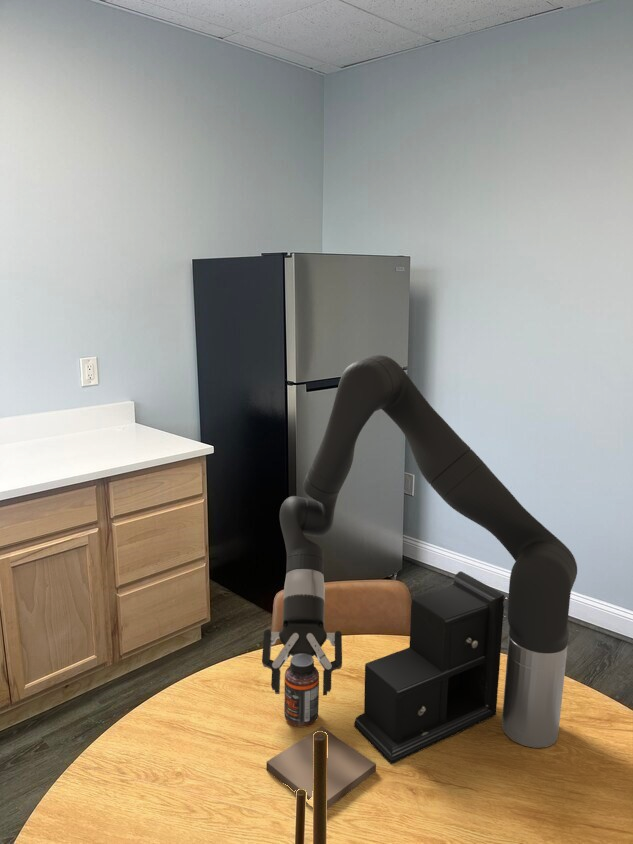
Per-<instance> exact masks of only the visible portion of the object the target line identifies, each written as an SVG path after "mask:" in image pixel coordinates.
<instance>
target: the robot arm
mask: <svg viewBox="0 0 633 844" xmlns="http://www.w3.org/2000/svg"><path fill="white" fill-rule="evenodd" d="M379 410H381V411H383V412H384V413H385V414H386V415H387V416H388V417H389V418H390V419H391V420H392V421H393V422H394V423H395V425H397V427H398V428H399V429H400V431H401V432H402V433H403V435H404V437H405V438H406V440H407V442H408V444H409V447H410V449H411V453H412V455H413V457H414V460H415V463H416V465H417V467H418V469H419V471H420V473H421V475H422V476H423V477H424V480H426V482H427V484H428V485H430V486H431V488H432V489H433V490H434V491H435V492H436V493H437V494H438V495H439V497H440V498H441V499H442V501H444V502H445V503H446V504H448V506H449V507H450V508H452V509H453V510H454V511H456V512H457V513H459V514H460V515H462V516H464V517H465V518H466V519H468V520H470V521H472V522H473V523H475V524H477V525H479V526H480V527H482V528H483V529H485V530H486V531H488V533H491V534H492V536H494V537H495V539H496V540H498V541H499V543H500V544H501V545H502V546H503V547H504V548H505V549H506V550H507V552H508V553H509V555H510V556H511V557H512V558H513V560H514V563H513V565H512V568H511V571H510V575H509V586H508V599H507V600H508V601H507V602H508V603H507V621H508V627H509V629H508V639H507V640H508V641H507V651H506V652H507V653H506V654H507V655H506V668H505V678H504V679H505V680H504V687H503V688H504V689H503V690H504V691H503V702H502V715H501V728H502V730H503V732H504V733H505V735H506V736H507V737H508V738H509V739H510V740H512V741H513V742H515V743H517V744H519V745H522V746H524V747H529V748H534V749H541V748H547V747H551V746H552V745H554V744H555V743H557V741H558V739H559V730H560V722H561V714H562V713H561V712H562V702H563V693H564V684H565V676H566V675H565V674H566V665H567V653H568V644H569V634H570V629H569V625H568V624H569V623H568V621H569V613H570V601H571V593H572V589H573V587H574V585H575V582H576V579H577V575H578V565H577V560H576V558H575V556H574V554H573V553H572V551H571V550H570V549H569V548H568V547H567V546H566V545H565V544H564V543H563V541H561V540H560V539H559V538H558V537H557V536H556V535H555V534H553V533H552V532H551V531H550V530H549V529H548V528H547V527H545V526H544V525H543V524H542V523H541V522H540V521H539V520H538V519H536V518H535V517H534V516H533V515H532V514H531V513H530V512H529V511H528V510H527V509H526V508H525V507H524V506H523V505H522V504H521V503H520V502H519V500H517V498H516V497H515V496H514V495H513V494H512V492H511V491H510V490H509V489H508V488H507V487H506V486H505V484H504V483H503V482H502V481H501V480H500V479H499V478H498V477H497V476H496V475H495V474H494V473H493V472H492V470H491V469H490V467H488V466H487V464H486V463H485V462H484V461H483V460H482V459H481V458H480V456H479V455H477V453H476V452H475V451H474V449H472V448H471V447H470V446H469V444H467V443H466V442H465V441H464V440H463V439H462V438H461V437H460V436H459V435H458V433H457V432H456V431H454V429H453V428H452V427H451V426H450V425H449V424H448V423H447V421H445V419H444V418H443V417H442V416H441V415H440V414H439V413H438V412H437V411H436V410H435V409H434V408H433V407H432V405H431V404H430V403H429V402H428V400H427V399H426V398H425V397H424V396H423V394H422V393H421V391H420V390H419V389H418V387H417V385H415V383H414V382H413V381H412V379H411V378H410V377H409V376H408V374H407V373H406V371H405V370H404V369H403V368H402V366H401V365H400V364H399V363H398V362H397V361H396V360H394V359H393V358H391V357H389V356H387V355H384V354H375V355H371V356H367V357H365V358H363V359H359V360H357V361H354V362H352V363H351V364H350V365H348V366H346V368H345V369H344V371H343V372H342V374H341V377H340V379H339V383H338V387H337V389H336V393H335V397H334V400H333V406H332V409H331V413H330V414H329V418H328V419H329V420H328V423H327V425H326V429H325V431H324V435H323V438H322V440H321V443H320V444H319V448H318V450H317V452H316V454H315V456H314V458H313V461H312V462H311V465H310V466H309V469H308V470H307V473H306V475H305V477H304V480H303V484H302V487H303V490H304V492H305V494H306V495H307V496H309V497H310V498H307V497H301V496H297V495H291V496H289V497H286V499H284V501H283V502H282V504H281V506H280V508H279V509H280V510H279V523H280V529H281V532H282V537H283V540H284V541H283V542H284V544H285V551H286V552H285V553H286V567H285V568H286V572H285V573H286V574H285V578H284V579H285V581H284V586H283V601H282V602H283V603H282V605H283V609H282V625H281V629H280V631H271V630H270V629H265V630H264V632H263V642H262V643H263V644H262V653H261V654H262V656H261V663H262V666H263V667H264V668H268V669H270V670H271V680H270V681H271V684H270V686H271V689H272V691H274V694H275V695H280V691H281V668H282V667H283V665H284V664H285V663H286V662H287V661H288V659H289V658H290V657H293V656H294V655H296V654H302V653H303V654H308V655H310V656H312V657H315V658H316V660H317V661H318V662H319V663H320V665H321V667H322V668H323V672H322V675H323V676H322V696H328V693H330V692H331V690H332V673H333V672H334V671H335V670H340V669H342V667H343V642H342V641H343V638H342V632H341V631H339V630H337V631H335V632H327V631H326V630H325V629H326V628H325V599H326V592H325V590H326V589H325V588H326V587H325V586H326V585H325V581H324V580H325V579H324V570H325V569H324V568H325V567H324V564H325V563H324V560H325V559H324V558H325V552H324V550H323V547H322V546H321V545H320V544H318V543H315V542H314V541H312V540H310V539H308V538H307V537H306V536H310V537H315V538H321V537H324V536H325V535H327V534H328V533H329V532H330V531H331V530H332V527H333V524H334V519H335V517H334V516H335V510H336V504H337V499H338V496H339V494H340V491H341V489H342V488H343V485H344V484H345V481H346V479H347V477H348V475H349V473H350V470H351V468H352V465H353V461H354V455H355V448H356V447H355V446H356V443H357V442H358V441H357V440H358V438H359V436H360V434H361V432H362V430H363V428H364V427H365V425H366V424H367V422H368V421H369V420H370V418H371V417H372V416H373V414H375V412H377V411H379ZM278 639H279V641H280V642H281V644H282V645H283V647H282V648H281V650H280V651H279V653H278V655H277V656H276V658H275V659H274V660H272V659H271V652H272V646H273V645H275V644H276V641H277V640H278ZM327 640H328V641H329V643H330V645H331V646H332V647H334V660H332V661H330V660H329V658H328V657H327V655H326V653H325V651H324V650H323V648H322V646H323V645H324V644H325V643H326V641H327Z"/></svg>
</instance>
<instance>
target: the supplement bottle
mask: <svg viewBox="0 0 633 844" xmlns="http://www.w3.org/2000/svg"><path fill="white" fill-rule="evenodd" d="M289 663H290V664H289V666H288V667H287V668H286V670H285V671H284V672H285V673H284V706H283V707H284V709H283V710H284V711H283V712H284V718H285V720H286V722H287V723H288V724H290V726H293V727H297V728H304V727H309V726H311V725H313V724H315V723H316V721H318V718H319V703H320V702H319V700H320V699H319V698H320V696H319V695H320V694H319V693H320V692H319V691H320V672H319V671H318V669H317V668H316V666H315V664H314V663H315V660H314V656H310V655H308V654H303V653H302V654H296V655H294V656H291V657H290V662H289Z"/></svg>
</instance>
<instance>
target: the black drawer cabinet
mask: <svg viewBox="0 0 633 844" xmlns="http://www.w3.org/2000/svg"><path fill="white" fill-rule="evenodd" d="M504 601H505V594H504V593H502V592H500V591H498V590H497V589H494V588H492V587H490V586H489V585H487V584H486V583H483V582H482V581H480V580H478V579H476V578H474V577H472V576H470V575H469V574H467V573H465V572H463V571H458V572H457V573H456V574H455V575H454V578H453V584H450V585H447V586H444V587H440V588H438V589H434V590H432V591H427V592H424V593H422V594H421V593H420V594H418V595H415V596H413V597H411V605H410V627H409V647H406V648H404V649H401V650H399V651H398V650H397V651H396V652H393V653H391V654H388V655H386V656H382V657H380V658H377V659H375V660H372V661H368V662H366V663H365V664H364V698H363V699H364V701H363V702H364V703H363V704H364V705H363V708H364V709H363V713H361V714H359V715H358V716H356V717H355V719H354V722H353V727H354V728H355V729H356V731H358V732H359V734H361V735H362V736H363V737H364V738H365V740H367V741H368V743H369V744H370V745H372V746H373V748H374V749H375V750H376V751H377V752H378V753H379V754H380V755H381V756H382V757H383V758H384V759H385V760H386V761H387V762H388V763H389V764H391V765H392V764H395V763H397V762H400V761H402V760H404V759H406V758H408V757H410V756H412V755H414V754H416V753H419V752H421V751H423V750H425V749H427V748H429V747H432V746H434V745H435V744H437V743H440V742H441V741H444V740H446V739H450V737H453V736H455V735H458V734H459V733H461V732H463V731H466V730H468V729H470V728H473V727H474V726H477V725H478V724H481V723H483V722H485V721H487V720H489V719H492V718H494V717H495V716H497V704H498V692H499V679H500V668H501V667H500V665H501V654H502V653H501V651H502V640H503V639H502V638H503V637H502V636H503V626H504V625H503V624H504V612H505V611H504V610H505V606H504Z"/></svg>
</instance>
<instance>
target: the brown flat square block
mask: <svg viewBox="0 0 633 844" xmlns="http://www.w3.org/2000/svg"><path fill="white" fill-rule="evenodd" d="M317 731H323V732H326V733H327V735H328V758H327V810H329V809H330V808H331V807H333V806H334V805H335V804H337V803H339V801H340V800H342V799H343V798H344V797H346V796H347V795H348V794H349V793H351V792H352V791H353V790H355V789H356V788H357V787H359V786H360V785H361V784H363V783H364V782H365V781H366V780H369V778H370V777H372V776H373V775H375V773H376V771H377V763H375V762H374V761H372V760H371V759H370V758H368V757H367V756H366V755H364V754H362V752H359V750H357V749H355V748H354V747H352V746H351V745H349V744H348V743H346V742H345V741H343V740H342V739H341V738H339V737H338V736H336V735H335V734H333V733H332V732H330V731H329V730H327V729H326V728H325V727H323V726H320V727H319V728H317V729H315V730H314V731H312V732H311V733H309V734H307V735H305V737H303V738H301V739H300V740H298V741H297V742H294V744H292V745H290V746H289V747H288V748H285V749H284V750H283V751H280V753H278V754H276V755H275V756H273V757H271V758H270V759H268V760H266V768H265V769H266V771H267V772H268V771H269V774H270V775H272V776H273V777H274V776H275V777H274V778H276V779H277V780H278V781H279V782H280V781H281V783H282V784H283V783H284V784H286V785H288V786H289V787H290V788H291V789H292V790H293V791H295V790H296V791H297V790H298V789H304V790H306V792H307V799H308V800H309V799H310V798H311V797H312V791H313V734H314V733H315V732H317ZM284 784H283V785H284ZM293 791H292V792H293ZM296 791H295V793H294V795H296Z"/></svg>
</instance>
